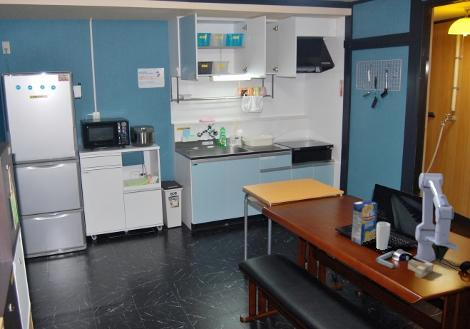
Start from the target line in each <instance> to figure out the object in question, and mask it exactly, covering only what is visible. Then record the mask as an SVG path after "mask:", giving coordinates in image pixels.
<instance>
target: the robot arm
mask: <svg viewBox="0 0 470 329" xmlns="http://www.w3.org/2000/svg"><path fill="white" fill-rule="evenodd" d="M443 184H444V176H443V174H442V173H435V172H434V173H432V172H431V173H429V172H428V173H427V172H421V173H420V174H419V177H418V187H419V190H421V191H422V217H421V218H422V219H421V221H422V222H421V223H419V224H417V225H416V228H415V233H414V236H415V240H416V241H417V244H418V245H417V251H416V252H417V253H416V255H414V256H413V258H414V259H416V260H417V261H421V262H422V263H423V262H424V263H426V262H430V263H432V262H433V261H439V262H443V261H444V259H445V256H446V254H447V253H448V251H449V250H450V249H451V250H453V251H454V252H457V251H458V250H459V246H458V245H457V244H455V243H452V242H451V241H449V238H450V231H451V230H450V229H451V221H452V220H453V219H454V216H455V210H454V207H453V206H452V205H451V204H449V201H448V199H447V196H446V194H443V190H442V186H443ZM434 207H435V211H434ZM434 213H435V223H436V224H434V223H433V222H434V221H433V220H434V219H433V218H434ZM413 258H412V259H413Z"/></svg>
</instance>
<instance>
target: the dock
mask: <svg viewBox="0 0 470 329" xmlns="http://www.w3.org/2000/svg"><path fill="white" fill-rule="evenodd" d="M394 252H396V251H394V250H392V251H389V252H387V253H386V252H385V253H384V254H382V255H379V256H378V257H376V258H375V263H378V264H380V265H383V266H386V267H388V268H390V269H394V263H392V262H390V261H388V260H387V259H388V258H390V257H392V254H393V253H394ZM409 258H410V256H408V255H406V260H405V261H410V259H409Z"/></svg>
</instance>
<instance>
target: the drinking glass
mask: <svg viewBox="0 0 470 329" xmlns="http://www.w3.org/2000/svg"><path fill="white" fill-rule="evenodd" d="M390 234H391V223H389V222H386V221H378V222H376V231H375V241H376V248H377V249H380V250H385V249H387V250H388V246H389V245H388V244H389V239H390ZM376 248H375V249H376Z"/></svg>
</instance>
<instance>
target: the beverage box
mask: <svg viewBox="0 0 470 329" xmlns="http://www.w3.org/2000/svg"><path fill="white" fill-rule="evenodd" d="M352 207H353V209H352V224H351V225H352V226H351V227H352V228H351V242H353V243H355V244H357V245H359V246H363V245H364V244H363V242H366V241H370V240H372V239H375V240H376V227H377V216H378V214H377V213H378V202H375V201H372V200H370V199H366V200H362V201H357V202H353V206H352ZM362 244H363V245H362Z"/></svg>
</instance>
